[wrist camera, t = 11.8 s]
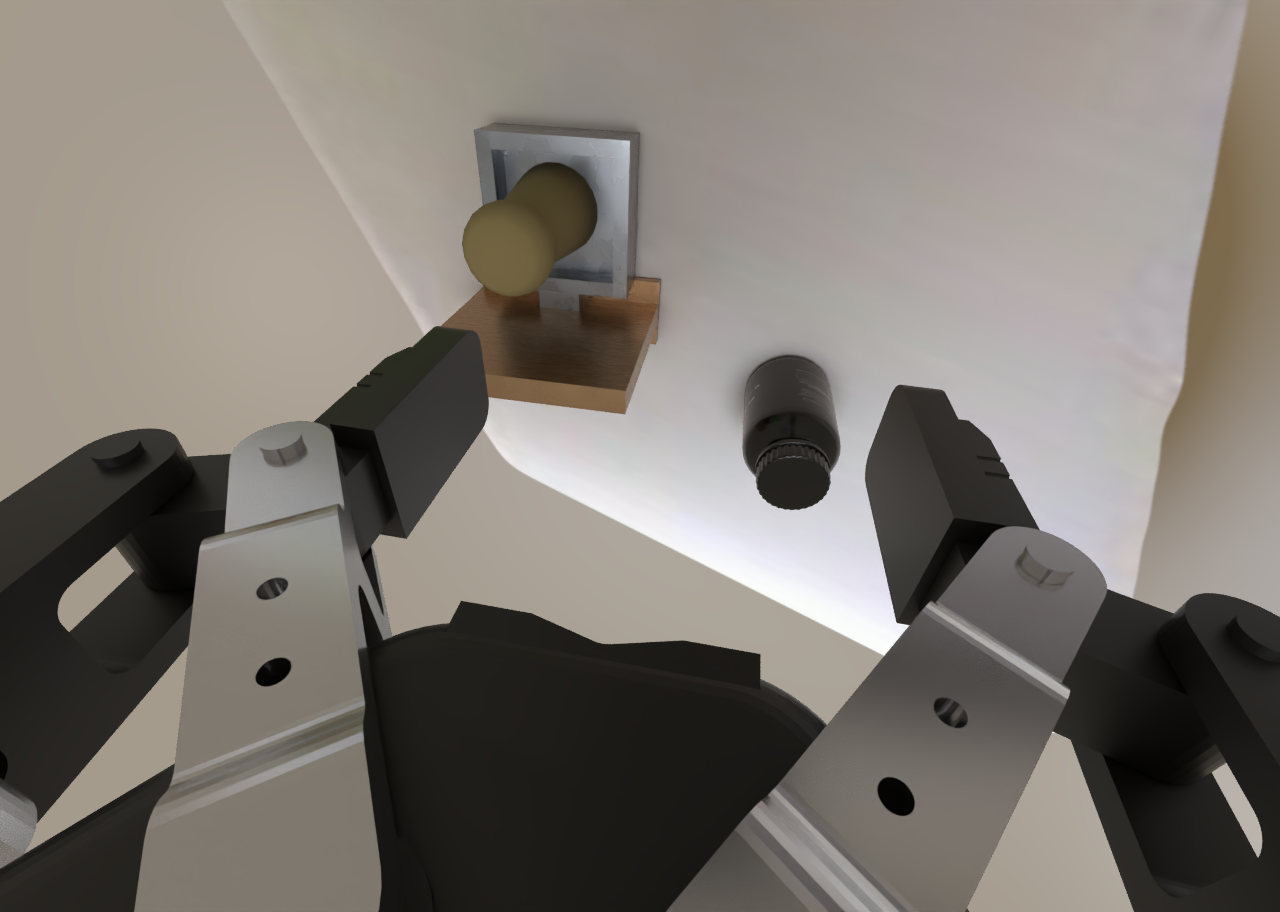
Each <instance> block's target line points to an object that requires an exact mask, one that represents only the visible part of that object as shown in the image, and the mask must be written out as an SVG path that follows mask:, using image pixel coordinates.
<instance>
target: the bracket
mask: <svg viewBox="0 0 1280 912" xmlns="http://www.w3.org/2000/svg"><path fill="white" fill-rule="evenodd" d="M474 135H475V143H476V151H477V159H478V167H479V175H480V183H481V191H482V200H483V205H485V204H487V203H490V202H494V201H497V200H504V199H505V198H506V196H507V195H508V194H509V192H510V191H511V190H512V189H513V187H514V186H515V185H516V183H517V182H518V181H519V180H520V178H521V177H522V176H523V174H525V173H526V172H527V171H528V170H529V169H531V168H532V167H533V166H535V165H538V164H541V163H545V162H555V163H561V164H564V165H566V166H568V167H571V168H573V169H574V170H575V171H577V172H578V173H579V174H580V175H581V176H582V177H584V178H585V180H586V181H587V183H588V184H589V186H590V188H591V189H592V191H593V193H594V196H595V200H596V203H597V217H598V220H597V223H596V227H595V230H594V233H593V235H592V236H591V238H590V239H589V240H588V242H587V243H586V244H585V245H583V246H582V247H581V248H579V249H578V250H576V251H574V252H573V253H571V254H569V255H567V256H566V257H564V258H562V259H560V260H559V261H557V262H555V263H554V265H553V269H552V272H551V273H550V275H549V276H548V278H547V279H546V281H545V282H544V283H543V285H542V286H540V287H539V288H537V289H536V290H535V291H533V292H532V293H528V294H525V295H521V296H517V297H514V296H503V295H501V294H498V293H496V292H493V291H491V290H489V289H488V288H487V287H485V286H484V287H483V288H482V289H481V290H480V291H479V292H478V293H477V294H476V295H474V296H473V297H472V298H471V299H470V300H469V301H468V302H467V303H466V304H465V305H463V306H462V307H461V308H460V309H459V310H458V311H457V312H456V313H455V314H454V315H453V316H451V317H450V318H449V319H448V320H447V321H446V322H445V323H444V324H443V325H442V326H441V327H449V328H457V329H465V330H473V331H475V332H476V333H477V334H478V336H479V339H480V342H481V349H482V356H483V363H484V370H485V377H486V384H487V392H488V397H492V398H500V399H508V400H516V401H524V402H532V403H540V404H548V405H556V406H564V407H572V408H580V409H588V410H596V411H604V412H612V413H620V414H625V413H626V410H627V408H628V405H629V402H630V399H631V396H632V393H633V391H634V388H635V385H636V382H637V379H638V377H639V374H640V371H641V368H642V365H643V362H644V360H645V357H646V354H647V351H648V348H649V345H650V344H656V342H657V335H658V319H659V302H660V286H661V279H653V278H642V277H635V260H636V229H637V198H638V166H639V135H640V133H634V132H619V131H604V130H589V129H575V128H560V127H545V126H530V125H516V124H501V123H493V124H490V125H487V126H484V127H481V128H478V129H475V130H474Z"/></svg>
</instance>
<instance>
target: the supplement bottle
mask: <svg viewBox="0 0 1280 912" xmlns="http://www.w3.org/2000/svg"><path fill="white" fill-rule="evenodd" d="M742 448H743V457H744V460H745V463H746V465H747V467H748V469H749V470H750V471H751V472H752V474H753V475H754V476H755V477H756V484H757V489H758V490H759V494H760V495H762V498H763V499H765V500H766V501H767V502H768V503H770V504H771V505H772V506H776V507H778V508H783V509H785V510H786V509H790V510H795V509H797V510H800V509H802V508H807V507H810V506H813V505H814V504H816V503H818V502H819V501H820V500H822V499H823V497H824V496H825V495H826V494H827V491H828V490H829V485H830V483H831V481H830V472H831V471H832V470H833V468H834V467H835V465H836V464H837V461H838V459H839V456H840V448H841V446H840V437H839V432H838V426H837V421H836V416H835V410H834V405H833V400H832V394H831V390H830V386H829V382H828V380H827V378H826V376H825V374H824V373H823V372H822V370H821V369H820V368H819V367H817V366H816V365H815V364H813V363H811V362H809V361H807V360H804V359H801V358H795V357H784V358H778V359H775V360H772V361H769V362H767V363H765V364H764V365H762V366H761V367H759V368H758V369H757V370H756V371H755V372H754V373H753V375H752V376H751V377H750V379H749V381H748V383H747V386H746V390H745V399H744V422H743V446H742Z"/></svg>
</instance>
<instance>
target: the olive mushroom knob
mask: <svg viewBox="0 0 1280 912" xmlns="http://www.w3.org/2000/svg"><path fill="white" fill-rule="evenodd" d="M597 220H598V217H597V203H596V200H595V196H594V193H593V191H592V189H591V188H590V186H589V184H588V183H587V181H586V180H585V178H584V177H582V176H581V175H580V174H579V173H578V172H577V171H575V170H574V169H573V168H571V167H568V166H566V165H564V164H561V163H555V162H545V163H541V164H538V165H535V166H533V167H532V168H531V169H529V170H528V171H527V172H526V173H525V174H523V176H522V177H521V178H520V180H519V181H518V182H517V183H516V185H515V186H514V187H513V189H512V190H511V191H510V192H509V194H508V195H507V196H506V198H505V199H504V200H497V201H494V202H490V203H487V204H485V205H483V206H482V207H481V208H479V209H478V210H477V211H476V212H475V213H473V214H472V216H471V218H470V220H469V221H468V223H467V225H466V227H465V229H464V234H463V241H462V246H463V252H464V258H465V260H466V262H467V264H468V266H469V269H470V271H471V272H472V274H473V275H474V276H475V277H476V279H477V280H478V281H479V282H480V283H481V284H483V285H484V286H485V287H487V288H488V289H489V290H491V291H493V292H496V293H498V294H501V295H503V296H514V297H517V296H521V295H525V294H528V293H532V292H533V291H535V290H536V289H537V288H539V287H540V286H542V285H543V283H544V282H545V281H546V279H547V278H548V276H549V275H550V273H551V272H552V269H553V265H554V263H555V262H557V261H559V260H560V259H562V258H564V257H566V256H567V255H569V254H571V253H573V252H574V251H576V250H578V249H579V248H581V247H582V246H583V245H585V244H586V243H587V242H588V240H589V239H590V238H591V236H592V235H593V233H594V230H595V227H596V223H597Z"/></svg>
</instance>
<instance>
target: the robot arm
mask: <svg viewBox="0 0 1280 912" xmlns="http://www.w3.org/2000/svg"><path fill="white" fill-rule="evenodd" d="M488 407H489V400H488V392H487V384H486V377H485V370H484V363H483V356H482V349H481V342H480V339H479V336H478V334H477V333H476V332H475V331H473V330H465V329H457V328H449V327H441V326H436V327H434V328H433V329H432V330H430V331H429V332H428V333H427V334H426V335H425V336H424V337H423V338H422V339H421V340H420V341H419V342H418V343H417V344H415V345H414V346H413V347H408V348H406V349H404V350H402V351H400V352H397V353H395V354H393V355H391V356H389V357H387V358H385V359H384V360H383V361H382V362H381V363H380V364H378V365H377V366H376V367H375V368H374V369H373V370H372V371H371V372H370V375H366V376H365V377H364V378H363V379H361V380H360V381H359V382H358V383H357V387H352V388H351V389H350V390H349V391H348V392H347V393H346V394H344V395H343V396H342V397H341V398H340V399H339V400H338V401H337V402H335V403H334V404H333V405H332V406H331V407H330V408H329V409H328V410H326V411H325V412H324V413H323V414H322V415H321V416H320V417H319V418H318V419H316V420H315V421H314V422H307V421H296V422H287V423H281V424H277V425H273V426H270V427H267V428H264V429H262V430H259V431H257V432H255V433H253V434H251V435H250V436H248V437H247V438H245V439H244V440H242V441H241V442H240V443H239V444H238V445H237V446H236V447H235V448H234V450H233V451H232V453H231V454H225V455H224V454H223V455H208V456H192V457H187V455H186V453H185V451H184V449H183V448H182V446H181V444H180V442H179V441H178V439H177V437H176V436H175V435H174V434H172V433H171V432H168V431H166V430H161V429H137V430H130V431H125V432H121V433H117V434H113V435H110V436H107V437H104V438H102V439H99V440H96V441H94V442H92V443H90V444H88V445H86V446H84V447H82V448H81V449H79V450H77V451H76V452H74V453H73V454H71V455H70V456H68V457H67V458H65V459H64V460H62V461H61V462H59V463H58V464H56V465H55V466H53V467H52V468H50V469H49V470H47V471H46V472H44V473H43V474H41V475H40V476H38V477H37V478H36V479H34V480H33V481H31V482H29V483H28V484H26V485H25V486H23V487H22V488H20V489H19V490H18V491H16V492H14V493H13V494H12V495H10V496H9V497H7V498H6V499H4V500H3V501H1V502H0V912H969V911H968V909H967V906H968V904H969V902H970V900H971V898H972V896H973V894H974V892H975V890H976V888H977V886H978V883H979V882H980V880H981V878H982V876H983V873H984V871H985V869H986V867H987V865H988V863H989V861H990V859H991V857H992V855H993V853H994V851H995V849H996V847H997V845H998V842H999V840H1000V838H1001V836H1002V834H1003V832H1004V830H1005V828H1006V826H1007V824H1008V822H1009V820H1010V817H1011V816H1012V814H1013V812H1014V809H1015V807H1016V805H1017V803H1018V801H1019V799H1020V797H1021V795H1022V793H1023V791H1024V789H1025V787H1026V785H1027V783H1028V781H1029V779H1030V776H1031V774H1032V772H1033V770H1034V768H1035V766H1036V764H1037V762H1038V760H1039V758H1040V756H1041V754H1042V752H1043V750H1044V748H1045V745H1046V743H1047V741H1048V739H1049V737H1050V735H1051V733H1052V731H1053V732H1055V733H1057V734H1060V735H1062V736H1064V737H1066V738H1068V739H1071V742H1072V744H1073V747H1074V750H1075V753H1076V755H1077V758H1078V761H1079V763H1080V766H1081V769H1082V772H1083V775H1084V777H1085V780H1086V783H1087V785H1088V788H1089V791H1090V793H1091V796H1092V799H1093V802H1094V804H1095V807H1096V810H1097V812H1098V815H1099V818H1100V821H1101V823H1102V826H1103V829H1104V832H1105V834H1106V837H1107V840H1108V842H1109V845H1110V848H1111V851H1112V853H1113V856H1114V859H1115V861H1116V864H1117V867H1118V869H1119V872H1120V875H1121V878H1122V880H1123V883H1124V886H1125V889H1126V891H1127V894H1128V897H1129V899H1130V902H1131V905H1132V908H1133V910H1134V912H1280V617H1278V616H1277V615H1275V614H1273V613H1271V612H1269V611H1267V610H1265V609H1263V608H1261V607H1259V606H1256V605H1254V604H1252V603H1249V602H1247V601H1244V600H1241V599H1238V598H1235V597H1230V596H1227V595H1221V594H1214V593H1204V594H1198V595H1195V596H1193V597H1191V598H1190V599H1189V600H1188V601H1187V602H1186V603H1185V604H1183V605H1182V607H1180V608H1179V609H1178V610H1177V611H1176V612H1175V613H1174V614H1173V613H1171V612H1168V611H1165V610H1163V609H1160V608H1157V607H1154V606H1151V605H1149V604H1146V603H1143V602H1140V601H1138V600H1135V599H1132V598H1130V597H1127V596H1124V595H1121V594H1119V593H1116V592H1113V591H1111V590H1109V589H1107V584H1106V581H1105V578H1104V576H1103V574H1102V573H1101V571H1100V570H1099V568H1098V567H1097V566H1096V565H1095V563H1094V562H1093V561H1092V560H1091V559H1090V558H1089V557H1088V556H1086V555H1085V554H1084V553H1083V552H1081V551H1080V550H1079V549H1077V548H1076V547H1074V546H1073V545H1071V544H1070V543H1068V542H1066V541H1064V540H1063V539H1061V538H1058V537H1056V536H1054V535H1052V534H1049V533H1046V532H1044V531H1040V530H1039V528H1038V526H1037V524H1036V522H1035V520H1034V519H1033V517H1032V515H1031V513H1030V511H1029V509H1028V508H1027V506H1026V504H1025V502H1024V500H1023V498H1022V497H1021V495H1020V493H1019V491H1018V489H1017V487H1016V486H1015V484H1014V482H1013V480H1012V479H1009V476H1010V475H1009V473H1008V471H1007V469H1006V467H1005V465H1004V464H1003V463H1001V462H1000V460H1001V458H1000V456H999V454H998V453H997V451H996V449H995V447H994V445H993V443H992V442H991V440H990V439H989V438H988V437H987V436H986V435H985V434H984V433H982V432H981V431H980V430H979V429H978V428H977V427H975V426H974V425H973V424H972V423H971V422H970V421H967V420H960V419H958V418H957V416H956V414H955V412H954V410H953V408H952V406H951V404H950V402H949V399H948V397H947V395H946V394H945V392H944V391H943V390H938V389H930V388H922V387H914V386H906V385H898V386H897V387H896V388H895V389H894V390H893V392H892V394H891V396H890V399H889V401H888V404H887V407H886V409H885V412H884V415H883V417H882V420H881V423H880V425H879V428H878V430H877V433H876V436H875V438H874V441H873V444H872V446H871V449H870V452H869V455H868V459H867V464H866V472H865V482H866V488H867V492H868V497H869V501H870V506H871V510H872V515H873V519H874V524H875V528H876V533H877V537H878V542H879V546H880V550H881V555H882V559H883V564H884V568H885V573H886V577H887V582H888V586H889V591H890V595H891V600H892V604H893V609H894V613H895V618H896V622H897V623H900V624H906V625H910V626H909V627H908V628H907V629H906V630H905V632H904V633H903V634H902V635H901V636H900V638H899V639H898V640H897V641H896V643H895V644H894V645H893V646H892V647H891V649H890V650H889V651H888V652H887V653H886V655H885V656H884V657H883V658H882V659H881V661H880V662H879V663H878V664H877V666H876V667H875V668H874V669H873V670H872V672H871V673H870V674H869V675H868V676H867V678H866V679H865V680H864V681H863V682H862V684H861V685H860V686H859V687H858V689H857V690H856V691H855V692H854V693H853V695H852V696H851V697H850V698H849V699H848V701H847V702H846V703H845V704H844V705H843V707H842V708H841V709H840V710H839V711H838V713H837V714H836V715H835V716H834V718H833V719H832V720H831V721H830V722H829V724H828V725H826V723H824V721H823V720H821V719H820V718H819V717H818V716H817V715H816V714H815V713H814V712H812V711H811V710H810V709H809V708H808V707H807V706H805V705H804V704H802V703H801V702H800V701H798V700H797V699H796V698H794V697H793V696H791V695H790V694H788V693H786V692H785V691H783V690H781V689H779V688H778V687H776V686H774V685H772V684H770V683H768V682H766V681H764V680H761V679H760V654H756V653H750V652H745V651H739V650H734V649H728V648H722V647H716V646H711V645H706V644H700V643H695V642H689V641H666V642H646V643H627V644H601V643H597V642H594V641H592V640H590V639H588V638H585V637H583V636H581V635H579V634H576V633H574V632H572V631H570V630H567V629H565V628H563V627H561V626H559V625H556V624H554V623H552V622H550V621H547V620H545V619H543V618H541V617H538V616H536V615H534V614H532V613H526V612H520V611H514V610H509V609H503V608H498V607H493V606H487V605H481V604H476V603H470V602H464V601H461V603H460V604H459V606H458V608H457V610H456V612H455V614H454V616H453V618H452V620H451V622H450V623H448V624H438V625H432V626H426V627H422V628H418V629H414V630H410V631H406V632H404V633H401V634H398V635H395V636H392V632H391V628H390V623H389V618H388V613H387V608H386V604H385V598H384V593H383V588H382V583H381V579H380V573H379V569H378V563H377V558H376V555H375V552H374V549H373V546H372V544H373V543H374V541H375V540H376V539H377V537H378V536H379V535H380V534H382V535H388V536H394V537H400V538H406V539H407V537H408V536H409V534H410V533H411V531H412V530H413V529H414V527H415V526H416V524H417V523H418V521H419V520H420V518H421V517H422V515H423V514H424V512H425V511H426V510H427V508H428V507H429V505H430V504H431V503H432V501H433V500H434V498H435V496H436V495H437V494H438V492H439V491H440V489H441V488H442V487H443V485H444V484H445V482H446V481H447V479H448V478H449V476H450V475H451V473H452V472H453V471H454V469H455V468H456V466H457V465H458V463H459V462H460V461H461V459H462V457H463V456H464V455H465V453H466V452H467V450H468V449H469V448H470V446H471V444H472V443H473V442H474V440H475V439H476V437H477V436H478V434H479V433H480V431H481V430H482V429H483V427H484V425H485V422H486V419H487V415H488ZM114 546H115V547H116V548H117V549H118V550H119V552H120V553H121V555H122V556H123V557H124V558H125V560H126V561H127V562H128V563H129V565H130V566H131V568H132V569H133V570H134V572H133V573H132V574H131V575H130V576H129V577H128V578H126V580H124V581H123V582H122V583H121V584H120V585H119V586H118V587H117V588H116V589H115V590H114V591H113V592H112V593H110V595H108V596H107V597H106V598H105V599H104V600H103V601H102V602H101V603H100V604H99V605H98V606H97V607H96V608H95V609H94V610H92V611H91V612H90V613H89V614H88V615H87V616H86V617H85V618H84V619H83V620H82V621H81V622H80V623H79V624H78V625H77V626H76V627H74V628H73V629H72V630H71V631H70V632H68V631H67V630H66V629H65V628H64V627H63V625H62V624H61V623H60V621H59V619H58V614H57V612H58V604H59V601H60V599H61V597H62V595H63V593H64V592H65V591H66V589H67V588H68V587H69V586H70V585H71V584H72V583H73V582H74V581H75V580H77V579H78V578H79V577H80V576H81V575H82V574H83V573H85V572H86V571H87V570H88V569H89V568H90V567H91V566H93V565H94V564H95V563H96V562H97V561H98V560H99V559H101V558H102V557H103V556H104V555H105V554H106V553H108V552H109V551H110V550H111V549H112V548H113V547H114ZM187 646H188V654H187V662H186V671H185V679H184V688H183V697H182V706H181V714H180V723H179V732H178V742H177V749H176V758H175V764H173V765H171V766H170V767H168V768H167V769H165V770H163V771H162V772H160V773H159V774H157V775H155V776H153V777H152V778H150V779H148V780H147V781H145V782H143V783H142V784H140V785H138V786H137V787H135V788H133V789H132V790H130V791H128V792H127V793H125V794H123V795H122V796H120V797H119V798H117V799H115V800H113V801H112V802H110V803H108V804H107V805H105V806H103V807H102V808H100V809H98V810H97V811H95V812H93V813H92V814H90V815H88V816H87V817H85V818H84V819H82V820H80V821H78V822H77V823H75V824H73V825H72V826H70V827H68V828H67V829H65V830H64V831H62V832H60V833H59V834H57V835H55V836H53V837H52V838H50V839H49V840H47V841H45V842H44V843H42V844H40V845H39V846H37V847H35V848H34V849H32V850H30V851H29V852H27V853H25V851H26V849H27V848H28V846H29V844H30V842H31V840H32V837H33V835H34V832H35V829H36V824H37V823H38V822H39V820H40V819H41V818H42V817H43V816H44V815H45V813H46V812H47V811H48V810H49V809H50V807H51V806H52V805H53V804H54V803H55V802H56V800H57V799H58V798H59V797H60V796H61V794H62V793H63V792H64V791H65V790H66V789H67V787H68V786H69V785H70V784H71V783H72V782H73V780H74V779H75V778H76V777H77V776H78V775H79V773H80V772H81V771H82V770H83V769H84V767H85V766H86V765H87V764H88V763H89V762H90V760H91V759H92V758H93V757H94V756H95V754H96V753H97V752H98V751H99V750H100V749H101V747H102V746H103V745H104V744H105V743H106V741H107V740H108V739H109V738H110V737H111V736H112V734H113V733H114V732H115V731H116V730H117V729H118V727H119V726H120V725H121V724H122V723H123V722H124V720H125V719H126V718H127V717H128V715H129V714H130V713H131V712H132V711H133V710H134V709H135V707H136V706H137V705H138V704H139V703H140V701H141V700H142V699H143V698H144V697H145V696H146V694H147V693H148V692H149V691H150V690H151V689H152V687H153V686H154V685H155V684H156V683H157V681H158V680H159V679H160V678H161V677H162V676H163V674H164V673H165V672H166V671H167V670H168V669H169V667H170V666H171V665H172V664H173V663H174V661H175V660H176V659H177V658H178V657H179V656H180V654H181V653H182V652H183V651H184V650H185V648H186V647H187ZM1225 763H1227V764H1228V766H1229V768H1230V769H1231V771H1232V773H1233V775H1234V776H1235V778H1236V780H1237V782H1238V784H1239V785H1240V787H1241V789H1242V791H1243V792H1244V794H1245V796H1246V797H1247V799H1248V801H1249V803H1250V805H1251V807H1252V808H1253V810H1254V812H1255V814H1256V816H1257V818H1258V821H1259V824H1260V827H1261V831H1262V840H1263V841H1262V849H1261V854H1260V856H1259V858H1258V857H1257V856H1256V854H1255V852H1254V850H1253V848H1252V846H1251V845H1250V843H1249V841H1248V839H1247V837H1246V835H1245V833H1244V831H1243V830H1242V828H1241V826H1240V824H1239V822H1238V820H1237V819H1236V817H1235V815H1234V813H1233V811H1232V809H1231V808H1230V806H1229V804H1228V802H1227V800H1226V798H1225V797H1224V795H1223V793H1222V791H1221V789H1220V787H1219V785H1218V784H1217V782H1216V780H1215V778H1214V776H1213V774H1212V772H1213V771H1214V770H1216V769H1217V768H1219V767H1220V766H1222V765H1223V764H1225ZM24 853H25V854H24Z"/></svg>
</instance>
